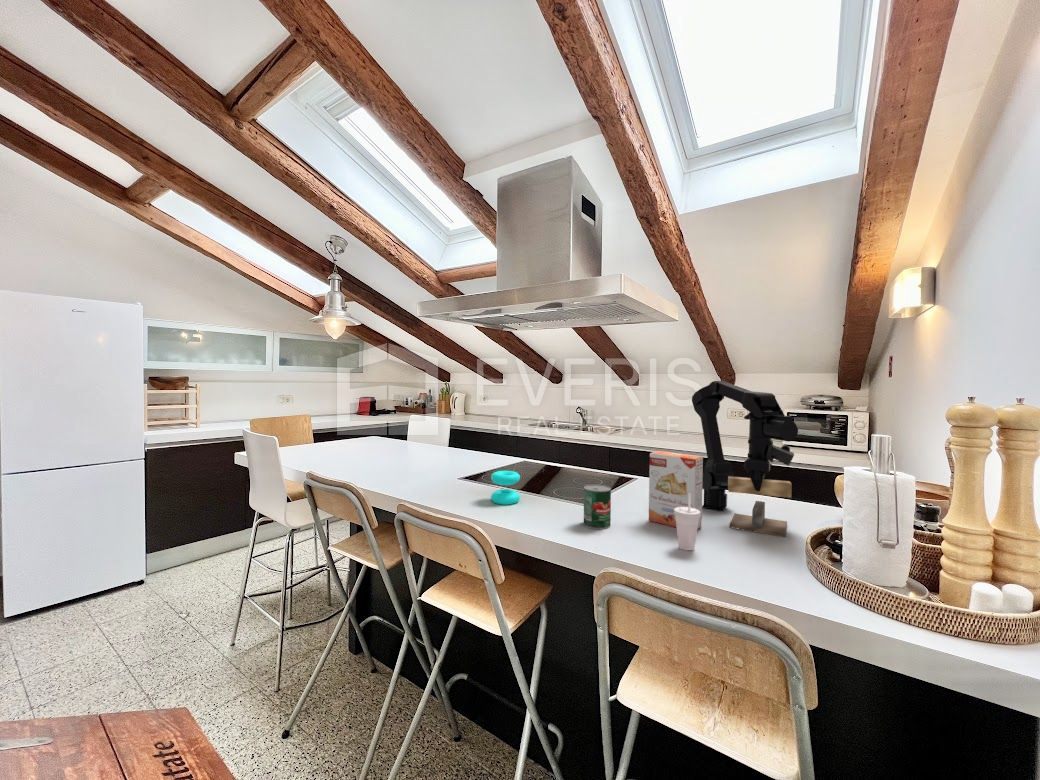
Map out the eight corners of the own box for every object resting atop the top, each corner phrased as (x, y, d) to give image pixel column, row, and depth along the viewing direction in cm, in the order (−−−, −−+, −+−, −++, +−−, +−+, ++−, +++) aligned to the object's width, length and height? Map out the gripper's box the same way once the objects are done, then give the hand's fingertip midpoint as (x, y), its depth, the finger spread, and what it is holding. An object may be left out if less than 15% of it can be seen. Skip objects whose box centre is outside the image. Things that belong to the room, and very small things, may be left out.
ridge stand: (729, 527, 129) (729, 506, 129) (734, 516, 139) (735, 497, 139) (785, 537, 121) (786, 515, 121) (786, 524, 131) (787, 504, 131)
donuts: (492, 469, 159) (520, 470, 159) (492, 497, 159) (519, 497, 159) (490, 476, 149) (519, 476, 149) (489, 505, 149) (519, 505, 149)
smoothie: (697, 554, 109) (698, 498, 108) (670, 549, 112) (671, 494, 112) (702, 546, 114) (703, 492, 114) (676, 541, 117) (677, 488, 117)
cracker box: (647, 521, 134) (648, 452, 133) (656, 516, 138) (657, 449, 137) (694, 532, 124) (695, 458, 124) (702, 527, 129) (703, 455, 128)
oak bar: (728, 491, 131) (729, 478, 131) (727, 489, 134) (728, 476, 134) (791, 497, 125) (791, 483, 125) (788, 495, 128) (789, 481, 128)
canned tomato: (590, 518, 136) (591, 483, 136) (615, 523, 131) (615, 486, 131) (578, 525, 129) (578, 488, 129) (603, 531, 125) (604, 492, 125)
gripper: (791, 443, 117) (789, 501, 117) (793, 434, 132) (792, 486, 133) (744, 439, 123) (742, 495, 123) (751, 431, 138) (750, 481, 139)
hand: (758, 489), depth 129 cm, fingers closed on oak bar, 3 cm apart
